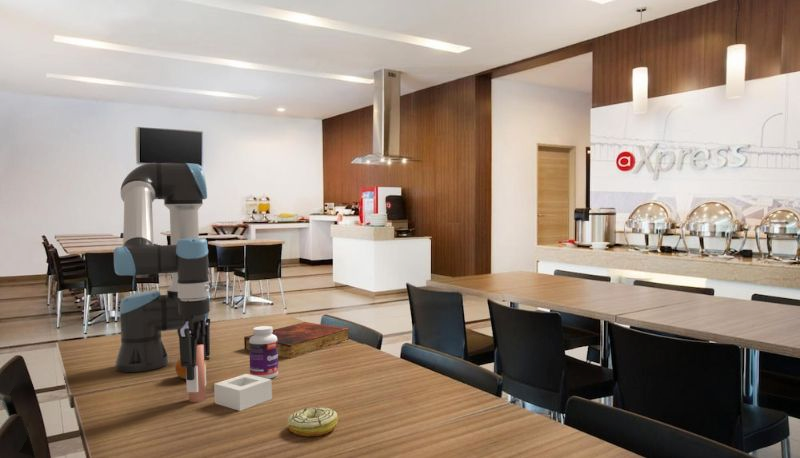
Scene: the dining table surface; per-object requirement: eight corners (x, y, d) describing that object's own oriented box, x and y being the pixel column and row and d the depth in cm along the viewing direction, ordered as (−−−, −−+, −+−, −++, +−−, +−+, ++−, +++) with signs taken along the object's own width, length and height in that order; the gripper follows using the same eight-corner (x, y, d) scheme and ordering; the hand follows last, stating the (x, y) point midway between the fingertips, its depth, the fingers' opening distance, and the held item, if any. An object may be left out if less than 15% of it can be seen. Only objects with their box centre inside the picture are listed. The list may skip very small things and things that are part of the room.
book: (304, 334, 217) (304, 322, 217) (350, 341, 203) (350, 328, 203) (244, 350, 193) (243, 336, 193) (291, 360, 179) (290, 345, 179)
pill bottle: (271, 381, 155) (269, 331, 154) (245, 380, 156) (243, 330, 156) (282, 373, 163) (281, 325, 162) (258, 372, 164) (256, 324, 164)
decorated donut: (303, 418, 127) (302, 402, 127) (345, 423, 123) (344, 406, 123) (279, 436, 117) (278, 418, 117) (324, 441, 113) (324, 423, 113)
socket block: (214, 403, 137) (214, 383, 137) (246, 392, 146) (246, 373, 145) (240, 410, 132) (239, 390, 132) (272, 398, 140) (271, 379, 140)
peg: (185, 400, 140) (183, 346, 139) (199, 396, 143) (197, 343, 143) (194, 403, 138) (193, 348, 137) (208, 398, 141) (206, 345, 140)
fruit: (217, 363, 162) (200, 342, 161) (197, 381, 155) (179, 359, 154) (202, 372, 166) (186, 352, 165) (182, 390, 159) (165, 369, 158)
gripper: (192, 304, 131) (195, 400, 132) (221, 293, 147) (224, 378, 148) (162, 304, 131) (165, 400, 132) (195, 293, 148) (197, 378, 149)
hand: (196, 388), depth 140 cm, fingers closed on peg, 4 cm apart
